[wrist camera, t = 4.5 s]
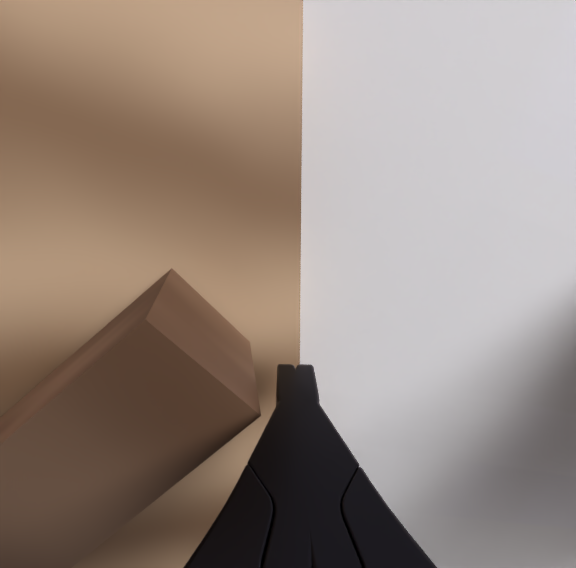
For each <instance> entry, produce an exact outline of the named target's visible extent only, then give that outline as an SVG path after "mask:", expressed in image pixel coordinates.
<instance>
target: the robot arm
mask: <svg viewBox="0 0 576 568" xmlns="http://www.w3.org/2000/svg"><path fill="white" fill-rule="evenodd" d="M183 568H437V567H436V566H435V565H434V563H433V562H432V561H431V560H430V559H429V557H428V556H427V555H426V554H425V552H424V551H423V550H422V549H421V547H420V546H419V545H418V544H417V543H416V541H415V540H414V539H413V538H412V536H411V535H410V534H409V533H408V531H407V530H406V529H405V528H404V526H403V525H402V524H401V522H400V521H399V520H398V519H397V517H396V516H395V515H394V514H393V512H392V511H391V510H390V508H389V507H388V506H387V504H386V503H385V501H384V500H383V499H382V497H381V496H380V494H379V493H378V491H377V490H376V489H375V487H374V486H373V484H372V483H371V481H370V480H369V478H368V477H367V475H366V474H365V472H364V471H363V469H362V468H361V467H359V463H358V462H357V460H356V459H355V457H354V456H353V454H352V453H351V451H350V450H349V448H348V447H347V445H346V444H345V442H344V441H343V439H342V438H341V436H340V435H339V433H338V432H337V430H336V429H335V427H334V426H333V424H332V422H331V421H330V419H329V418H328V416H327V415H326V413H325V412H324V410H323V409H322V407H321V406H320V404H319V394H318V389H317V383H316V378H315V373H314V368H313V366H312V365H303V364H299V365H297V366H296V368H295V367H294V365H292V364H278V366H277V383H276V407H275V409H274V411H273V413H272V415H271V417H270V419H269V421H268V423H267V425H266V427H265V429H264V431H263V433H262V435H261V437H260V439H259V441H258V443H257V445H256V447H255V449H254V451H253V452H252V454H251V456H250V458H249V460H248V462H247V465H246V466H245V468H244V470H243V472H242V474H241V476H240V478H239V480H238V481H237V483H236V485H235V487H234V489H233V490H232V492H231V494H230V496H229V498H228V500H227V501H226V503H225V505H224V507H223V508H222V510H221V511H220V513H219V514H218V516H217V518H216V519H215V521H214V522H213V524H212V525H211V527H210V529H209V530H208V532H207V533H206V535H205V536H204V538H203V539H202V541H201V542H200V544H199V545H198V547H197V548H196V550H195V551H194V553H193V554H192V556H191V557H190V559H189V560H188V562H187V563H186V565H185V566H184V567H183Z"/></svg>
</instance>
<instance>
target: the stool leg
mask: <svg viewBox="0 0 576 568" xmlns="http://www.w3.org/2000/svg"><path fill="white" fill-rule="evenodd" d="M260 416H261V411H260V405H259V399H258V392H257V386H256V379H255V373H254V366H253V360H252V353H251V347H250V342H249V341H248V340H247V339H246V338H245V337H244V336H243V335H242V334H241V333H240V332H239V331H238V330H237V329H236V328H235V327H234V326H233V325H232V324H230V323H229V322H228V321H227V320H226V319H225V318H224V317H223V316H222V315H221V314H220V313H219V312H218V311H217V310H216V309H215V308H214V307H213V306H211V305H210V304H209V303H208V302H207V301H206V300H205V299H204V298H203V297H202V296H201V295H200V294H199V293H198V292H197V291H196V290H195V289H193V288H192V287H191V286H190V285H189V284H188V283H187V282H186V281H185V280H184V279H183V278H182V277H181V276H180V275H179V274H178V273H177V272H176V271H174V270H173V269H172V268H171V269H170V270H169V271H168V272H167V273H166V274H165V275H163V276H162V277H161V278H160V279H159V280H158V281H156V282H155V283H154V284H153V285H152V286H151V287H150V288H148V289H147V290H146V291H145V292H144V293H143V294H142V295H140V296H139V297H138V298H137V299H136V300H135V301H134V302H132V303H131V304H130V305H129V306H128V307H127V308H125V309H124V310H123V311H122V312H121V313H120V314H119V315H117V316H116V317H115V318H114V319H113V320H112V321H111V322H109V323H108V324H107V325H106V326H105V327H104V328H103V329H101V330H100V331H99V332H98V333H97V334H96V335H95V336H93V337H92V338H91V339H90V340H89V341H88V342H86V343H85V344H84V345H83V346H82V347H81V348H80V349H78V350H77V351H76V352H75V353H74V354H73V355H72V356H70V357H69V358H68V359H67V360H66V361H65V362H64V363H62V364H61V365H60V366H59V367H58V368H57V369H55V370H54V371H53V372H52V373H51V374H50V375H49V376H47V377H46V378H45V379H44V380H43V381H42V382H41V383H39V384H38V385H37V386H36V387H35V388H34V389H33V390H31V391H30V392H29V393H28V394H27V395H26V396H24V397H23V398H22V399H21V400H20V401H19V402H18V403H16V404H15V405H14V406H13V407H12V408H11V409H10V410H8V411H7V412H6V413H5V414H4V415H3V416H2V417H0V568H72V567H73V566H74V565H75V564H77V563H78V562H79V561H80V560H82V559H83V558H84V557H85V556H87V555H88V554H89V553H90V552H92V551H93V550H94V549H95V548H97V547H98V546H99V545H100V544H102V543H103V542H104V541H105V540H107V539H108V538H109V537H110V536H112V535H113V534H114V533H115V532H117V531H118V530H119V529H120V528H122V527H123V526H124V525H125V524H127V523H128V522H129V521H130V520H132V519H133V518H134V517H135V516H137V515H138V514H139V513H140V512H142V511H143V510H144V509H145V508H147V507H148V506H149V505H150V504H152V503H153V502H154V501H155V500H157V499H158V498H159V497H160V496H162V495H163V494H164V493H165V492H167V491H168V490H169V489H170V488H172V487H173V486H174V485H175V484H177V483H178V482H179V481H180V480H182V479H183V478H184V477H185V476H187V475H188V474H189V473H190V472H192V471H193V470H194V469H195V468H197V467H198V466H199V465H200V464H202V463H203V462H204V461H205V460H207V459H208V458H209V457H210V456H212V455H213V454H214V453H215V452H217V451H218V450H219V449H220V448H222V447H223V446H224V445H225V444H227V443H228V442H229V441H230V440H232V439H233V438H234V437H235V436H236V435H238V434H239V433H240V432H241V431H243V430H244V429H245V428H246V427H248V426H249V425H250V424H251V423H253V422H254V421H255V420H256V419H258V418H259V417H260Z"/></svg>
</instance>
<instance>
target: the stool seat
mask: <svg viewBox="0 0 576 568" xmlns="http://www.w3.org/2000/svg"><path fill="white" fill-rule="evenodd" d="M302 43H303V0H0V417H2V416H3V415H4V414H5V413H6V412H7V411H8V410H10V409H11V408H12V407H13V406H14V405H15V404H16V403H18V402H19V401H20V400H21V399H22V398H23V397H24V396H26V395H27V394H28V393H29V392H30V391H31V390H33V389H34V388H35V387H36V386H37V385H38V384H39V383H41V382H42V381H43V380H44V379H45V378H46V377H47V376H49V375H50V374H51V373H52V372H53V371H54V370H55V369H57V368H58V367H59V366H60V365H61V364H62V363H64V362H65V361H66V360H67V359H68V358H69V357H70V356H72V355H73V354H74V353H75V352H76V351H77V350H78V349H80V348H81V347H82V346H83V345H84V344H85V343H86V342H88V341H89V340H90V339H91V338H92V337H93V336H95V335H96V334H97V333H98V332H99V331H100V330H101V329H103V328H104V327H105V326H106V325H107V324H108V323H109V322H111V321H112V320H113V319H114V318H115V317H116V316H117V315H119V314H120V313H121V312H122V311H123V310H124V309H125V308H127V307H128V306H129V305H130V304H131V303H132V302H134V301H135V300H136V299H137V298H138V297H139V296H140V295H142V294H143V293H144V292H145V291H146V290H147V289H148V288H150V287H151V286H152V285H153V284H154V283H155V282H156V281H158V280H159V279H160V278H161V277H162V276H163V275H165V274H166V273H167V272H168V271H169V270H170V269H171V268H172V269H173V270H174V271H176V272H177V273H178V274H179V275H180V276H181V277H182V278H183V279H184V280H185V281H186V282H187V283H188V284H189V285H190V286H191V287H192V288H193V289H195V290H196V291H197V292H198V293H199V294H200V295H201V296H202V297H203V298H204V299H205V300H206V301H207V302H208V303H209V304H210V305H211V306H213V307H214V308H215V309H216V310H217V311H218V312H219V313H220V314H221V315H222V316H223V317H224V318H225V319H226V320H227V321H228V322H229V323H230V324H232V325H233V326H234V327H235V328H236V329H237V330H238V331H239V332H240V333H241V334H242V335H243V336H244V337H245V338H246V339H247V340H248V341H249V342H250V347H251V353H252V360H253V366H254V373H255V379H256V386H257V392H258V399H259V405H260V411H261V416H260V417H259V418H258V419H256V420H255V421H254V422H253V423H251V424H250V425H249V426H248V427H246V428H245V429H244V430H243V431H241V432H240V433H239V434H238V435H236V436H235V437H234V438H233V439H232V440H230V441H229V442H228V443H227V444H225V445H224V446H223V447H222V448H220V449H219V450H218V451H217V452H215V453H214V454H213V455H212V456H210V457H209V458H208V459H207V460H205V461H204V462H203V463H202V464H200V465H199V466H198V467H197V468H195V469H194V470H193V471H192V472H190V473H189V474H188V475H187V476H185V477H184V478H183V479H182V480H180V481H179V482H178V483H177V484H175V485H174V486H173V487H172V488H170V489H169V490H168V491H167V492H165V493H164V494H163V495H162V496H160V497H159V498H158V499H157V500H155V501H154V502H153V503H152V504H150V505H149V506H148V507H147V508H145V509H144V510H143V511H142V512H140V513H139V514H138V515H137V516H135V517H134V518H133V519H132V520H130V521H129V522H128V523H127V524H125V525H124V526H123V527H122V528H120V529H119V530H118V531H117V532H115V533H114V534H113V535H112V536H110V537H109V538H108V539H107V540H105V541H104V542H103V543H102V544H100V545H99V546H98V547H97V548H95V549H94V550H93V551H92V552H90V553H89V554H88V555H87V556H85V557H84V558H83V559H82V560H80V561H79V562H78V563H77V564H75V565H74V566H73V567H72V568H183V567H184V566H185V565H186V563H187V562H188V560H189V559H190V557H191V556H192V554H193V553H194V551H195V550H196V548H197V547H198V545H199V544H200V542H201V541H202V539H203V538H204V536H205V535H206V533H207V532H208V530H209V529H210V527H211V525H212V524H213V522H214V521H215V519H216V518H217V516H218V514H219V513H220V511H221V510H222V508H223V507H224V505H225V503H226V501H227V500H228V498H229V496H230V494H231V492H232V490H233V489H234V487H235V485H236V483H237V481H238V480H239V478H240V476H241V474H242V472H243V470H244V468H245V466H246V465H247V462H248V460H249V458H250V456H251V454H252V452H253V451H254V449H255V447H256V445H257V443H258V441H259V439H260V437H261V435H262V433H263V431H264V429H265V427H266V425H267V423H268V421H269V419H270V417H271V415H272V413H273V411H274V409H275V407H276V383H277V366H278V364H292V365H294V367H295V368H296V366H297V365H299V364H300V257H301V150H302Z"/></svg>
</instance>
